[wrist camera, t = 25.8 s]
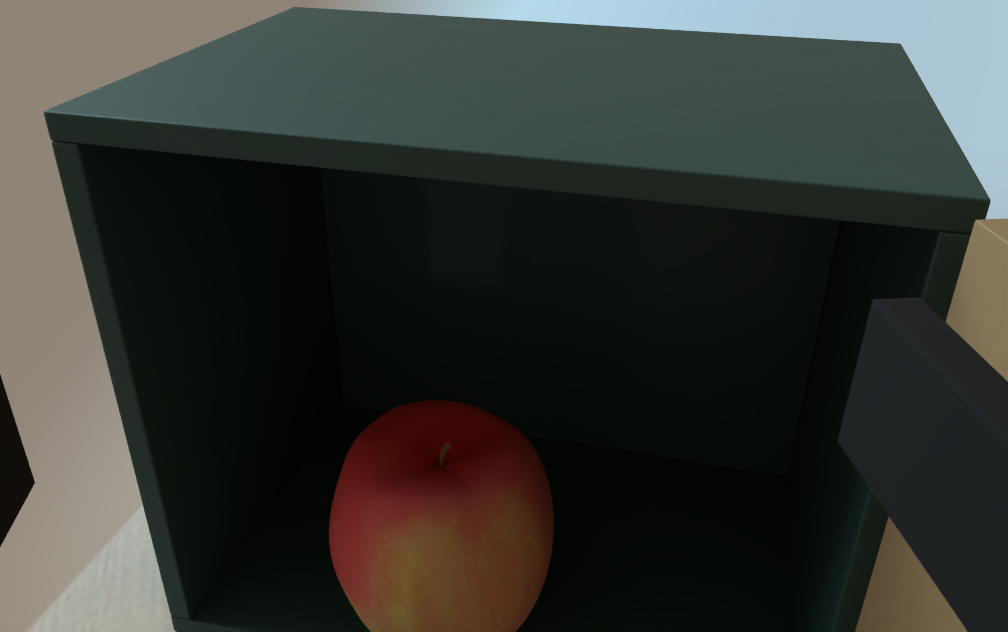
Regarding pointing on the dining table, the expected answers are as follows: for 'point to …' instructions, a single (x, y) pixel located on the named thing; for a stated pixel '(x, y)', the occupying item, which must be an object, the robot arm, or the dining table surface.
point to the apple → (442, 521)
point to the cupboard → (513, 296)
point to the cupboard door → (1004, 345)
